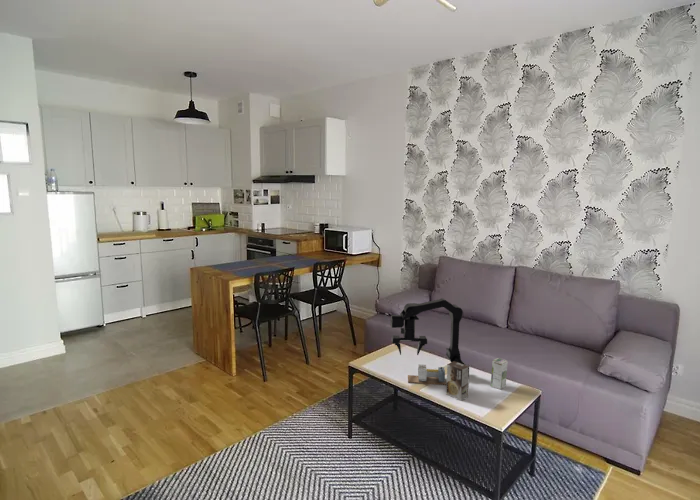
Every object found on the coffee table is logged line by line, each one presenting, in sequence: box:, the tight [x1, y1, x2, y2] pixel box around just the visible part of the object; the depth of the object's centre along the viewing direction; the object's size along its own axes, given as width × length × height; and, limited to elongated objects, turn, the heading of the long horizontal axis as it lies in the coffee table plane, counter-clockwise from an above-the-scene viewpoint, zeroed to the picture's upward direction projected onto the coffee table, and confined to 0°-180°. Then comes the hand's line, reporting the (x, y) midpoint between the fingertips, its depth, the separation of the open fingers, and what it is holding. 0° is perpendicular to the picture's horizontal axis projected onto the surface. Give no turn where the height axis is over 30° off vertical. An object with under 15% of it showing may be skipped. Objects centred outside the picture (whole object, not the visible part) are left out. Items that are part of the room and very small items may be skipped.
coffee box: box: [445, 361, 470, 401], centre depth 209 cm, size 9×6×16 cm
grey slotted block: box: [417, 364, 428, 382], centre depth 226 cm, size 4×7×7 cm, turn 174°
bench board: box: [407, 374, 447, 386], centre depth 226 cm, size 20×8×1 cm, turn 84°
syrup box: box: [490, 357, 509, 390], centre depth 219 cm, size 6×6×14 cm
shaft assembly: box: [427, 366, 446, 383], centre depth 225 cm, size 13×5×6 cm, turn 84°
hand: (409, 354), depth 229 cm, fingers open, 9 cm apart
